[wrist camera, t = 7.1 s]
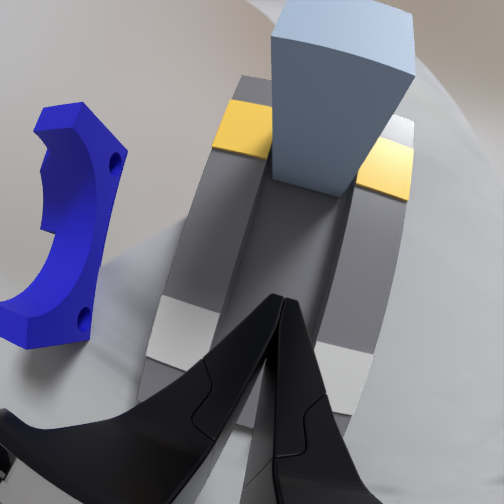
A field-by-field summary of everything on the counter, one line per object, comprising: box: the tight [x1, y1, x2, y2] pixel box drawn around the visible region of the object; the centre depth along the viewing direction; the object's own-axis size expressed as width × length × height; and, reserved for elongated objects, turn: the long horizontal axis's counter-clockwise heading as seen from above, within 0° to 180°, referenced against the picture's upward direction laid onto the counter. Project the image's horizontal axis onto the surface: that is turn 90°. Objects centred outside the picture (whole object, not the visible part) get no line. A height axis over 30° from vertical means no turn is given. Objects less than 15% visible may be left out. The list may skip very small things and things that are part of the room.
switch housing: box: [137, 76, 414, 438], centre depth 15 cm, size 18×10×3 cm, turn 163°
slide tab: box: [271, 0, 415, 198], centre depth 11 cm, size 3×4×10 cm
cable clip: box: [0, 102, 128, 350], centre depth 15 cm, size 12×4×6 cm, turn 171°
